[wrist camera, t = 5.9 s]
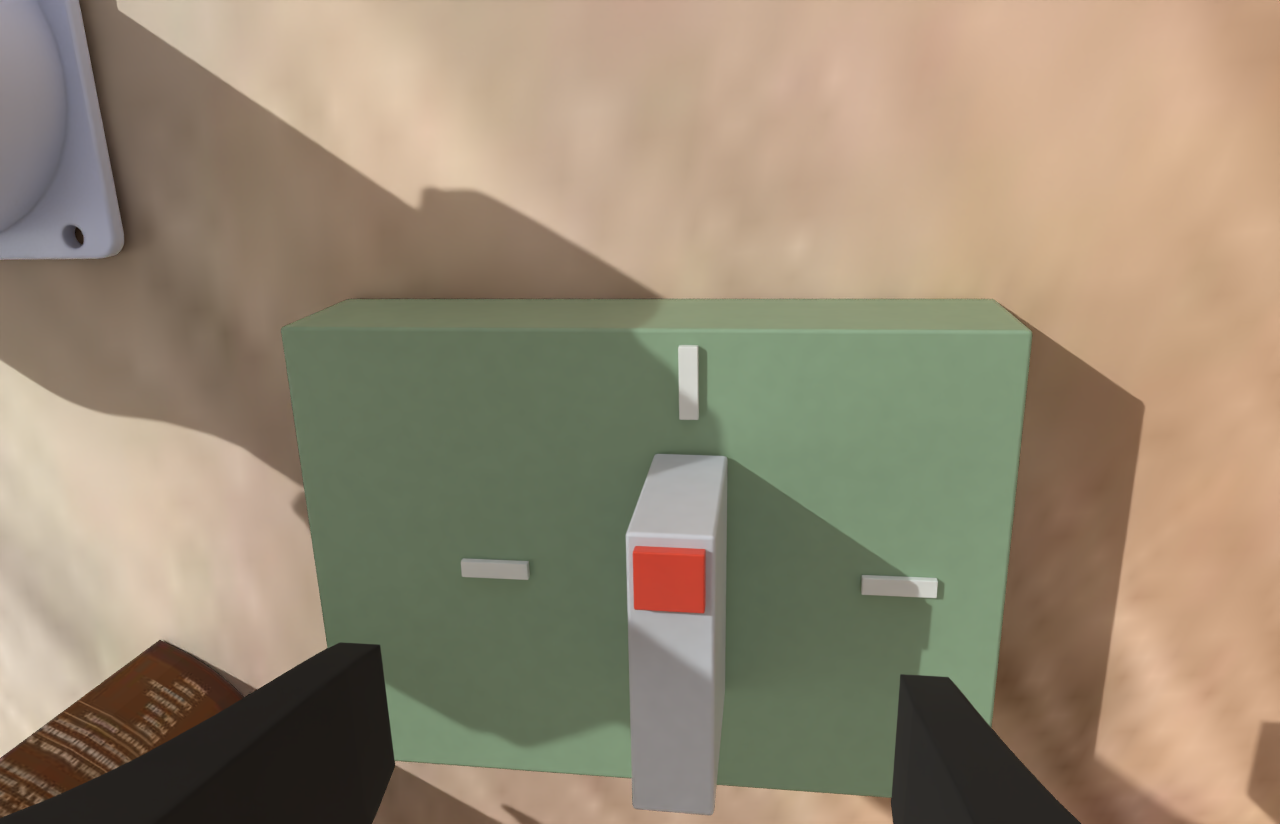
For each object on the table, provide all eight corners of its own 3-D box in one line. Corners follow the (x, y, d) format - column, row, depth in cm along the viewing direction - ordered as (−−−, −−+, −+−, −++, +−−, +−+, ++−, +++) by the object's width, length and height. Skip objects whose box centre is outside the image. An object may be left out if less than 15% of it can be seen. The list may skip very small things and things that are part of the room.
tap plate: (393, 682, 24) (339, 763, 21) (346, 298, 21) (274, 329, 18) (957, 717, 22) (986, 812, 19) (995, 298, 19) (1036, 332, 16)
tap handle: (725, 692, 19) (712, 828, 15) (657, 687, 19) (629, 820, 16) (728, 454, 17) (715, 543, 14) (654, 452, 18) (622, 539, 14)
